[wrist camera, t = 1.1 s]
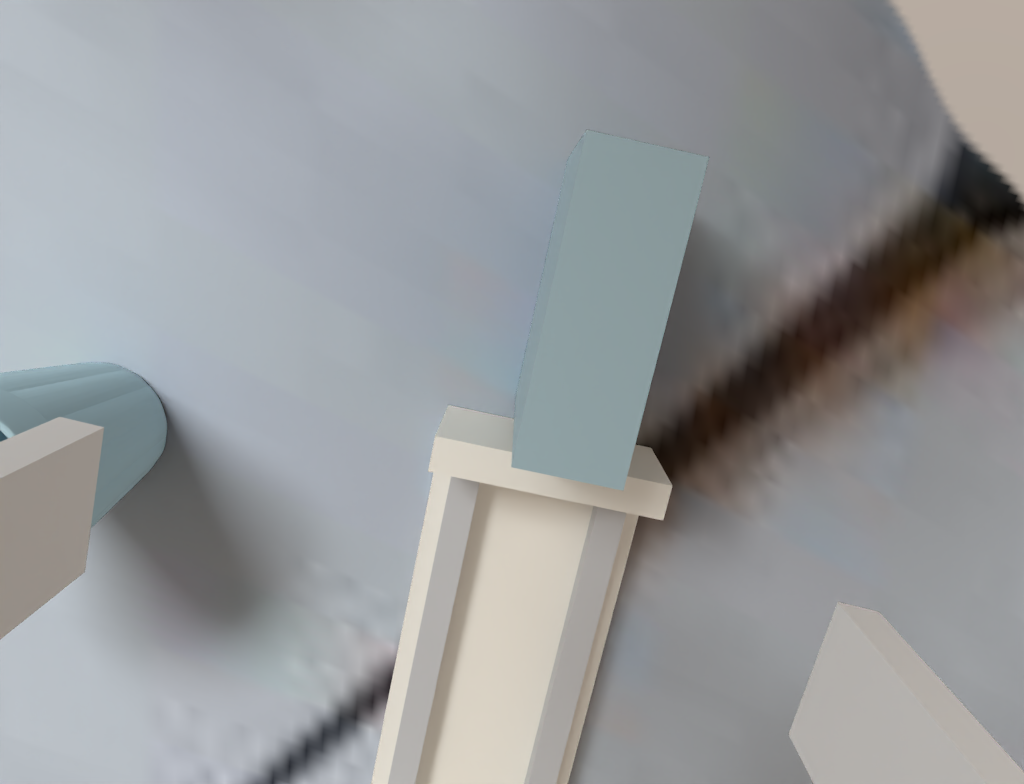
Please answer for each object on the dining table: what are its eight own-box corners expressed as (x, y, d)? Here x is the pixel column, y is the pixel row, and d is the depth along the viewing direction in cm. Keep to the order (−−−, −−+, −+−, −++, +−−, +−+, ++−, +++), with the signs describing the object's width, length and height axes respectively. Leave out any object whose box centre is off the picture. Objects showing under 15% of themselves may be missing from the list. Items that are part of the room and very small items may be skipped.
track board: (448, 404, 33) (387, 547, 19) (651, 447, 34) (748, 621, 19) (362, 829, 38) (260, 1212, 23) (541, 864, 38) (551, 1263, 24)
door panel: (567, 159, 31) (586, 129, 21) (652, 178, 31) (709, 156, 21) (515, 395, 33) (511, 467, 23) (594, 412, 33) (623, 490, 24)
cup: (148, 310, 33) (-23, 351, 22) (222, 473, 34) (93, 581, 24) (-10, 368, 33) (-247, 433, 23) (69, 525, 35) (-120, 652, 25)
